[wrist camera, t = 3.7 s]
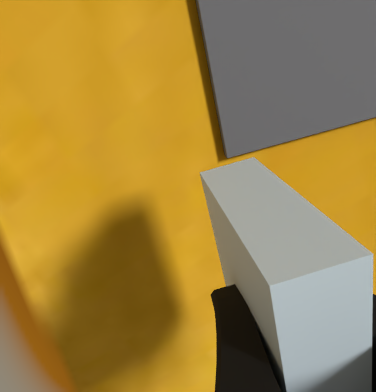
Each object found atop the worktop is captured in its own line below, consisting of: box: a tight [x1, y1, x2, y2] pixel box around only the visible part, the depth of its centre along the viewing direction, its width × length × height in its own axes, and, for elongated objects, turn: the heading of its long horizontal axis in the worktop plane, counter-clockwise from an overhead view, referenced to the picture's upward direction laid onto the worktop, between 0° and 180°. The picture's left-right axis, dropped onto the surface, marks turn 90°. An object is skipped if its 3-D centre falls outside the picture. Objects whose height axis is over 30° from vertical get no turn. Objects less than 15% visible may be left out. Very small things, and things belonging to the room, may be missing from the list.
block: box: [200, 157, 373, 392], centre depth 8 cm, size 7×2×5 cm, turn 13°
